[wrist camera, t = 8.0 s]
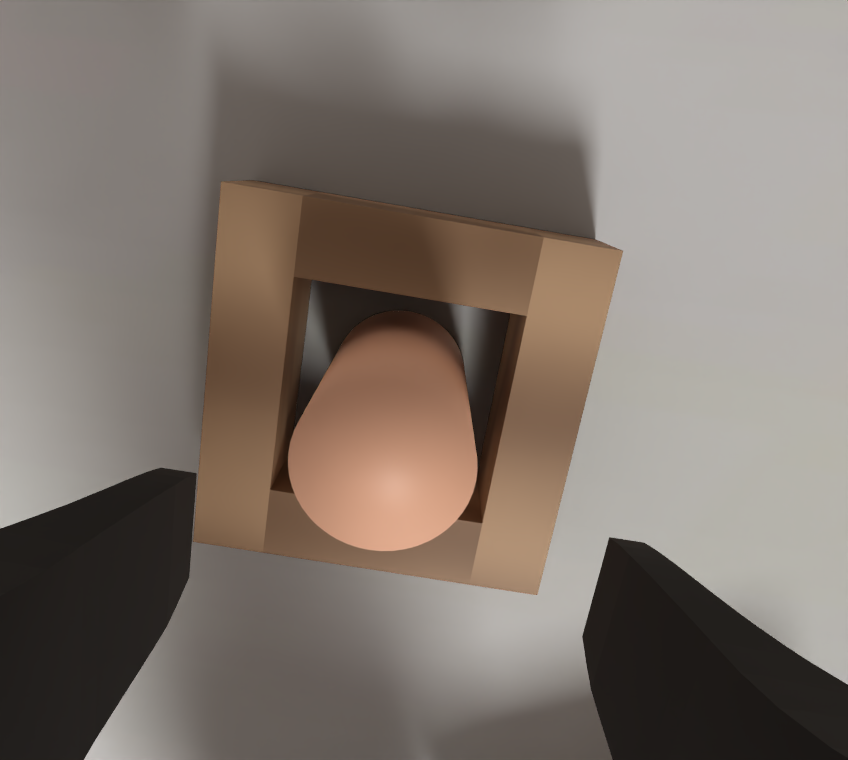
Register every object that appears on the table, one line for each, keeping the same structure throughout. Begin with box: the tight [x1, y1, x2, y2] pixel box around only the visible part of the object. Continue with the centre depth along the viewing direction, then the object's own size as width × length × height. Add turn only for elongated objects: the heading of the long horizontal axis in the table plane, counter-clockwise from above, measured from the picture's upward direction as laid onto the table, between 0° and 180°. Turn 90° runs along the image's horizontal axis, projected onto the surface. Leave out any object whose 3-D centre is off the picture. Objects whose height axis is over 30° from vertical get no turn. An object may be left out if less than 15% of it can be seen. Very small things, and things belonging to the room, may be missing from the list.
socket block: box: [193, 180, 623, 595], centre depth 20 cm, size 10×10×3 cm
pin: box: [288, 310, 477, 551], centre depth 18 cm, size 4×4×7 cm
